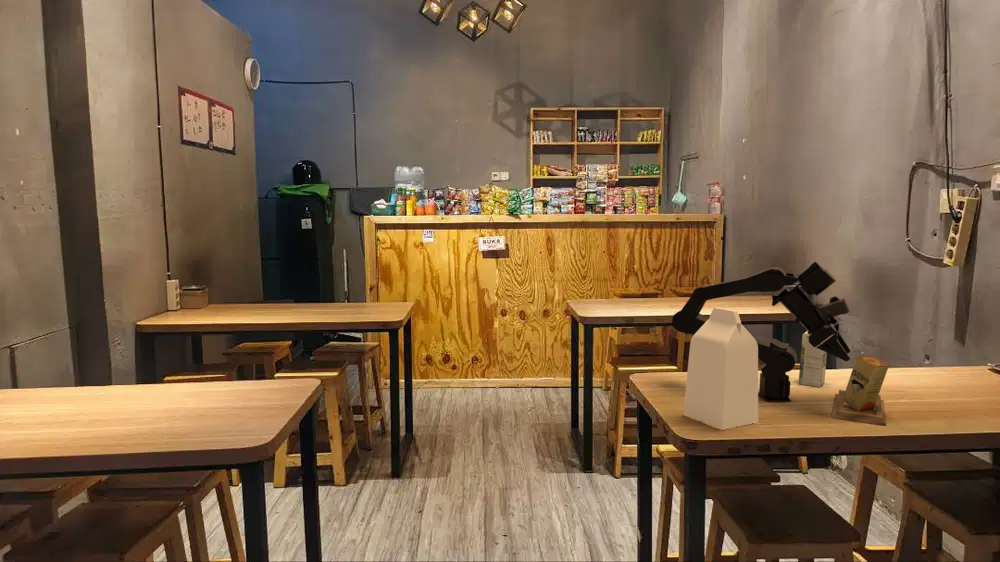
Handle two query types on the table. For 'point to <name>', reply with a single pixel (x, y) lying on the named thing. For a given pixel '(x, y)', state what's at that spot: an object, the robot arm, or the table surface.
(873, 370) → the shoe polish box
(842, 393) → the tray
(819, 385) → the syrup box
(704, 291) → the robot arm
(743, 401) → the milk
